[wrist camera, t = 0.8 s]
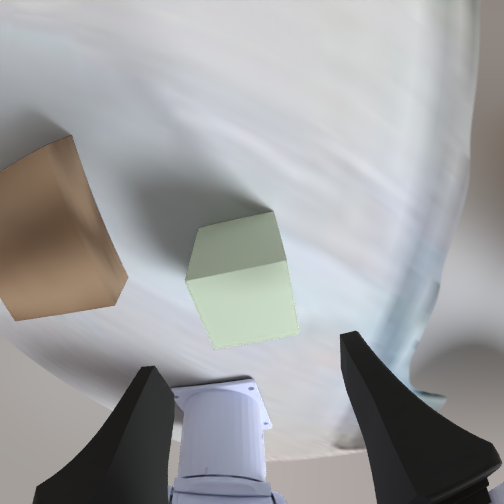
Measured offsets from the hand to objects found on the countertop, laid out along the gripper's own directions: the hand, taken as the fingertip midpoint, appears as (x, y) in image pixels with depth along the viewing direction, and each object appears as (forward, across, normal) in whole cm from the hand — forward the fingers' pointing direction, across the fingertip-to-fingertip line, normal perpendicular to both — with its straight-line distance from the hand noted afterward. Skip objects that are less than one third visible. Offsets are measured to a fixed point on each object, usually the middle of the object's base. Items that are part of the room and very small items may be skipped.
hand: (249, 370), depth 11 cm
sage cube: (+9, 0, 0) cm, 9 cm away
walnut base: (+9, +13, -5) cm, 17 cm away
